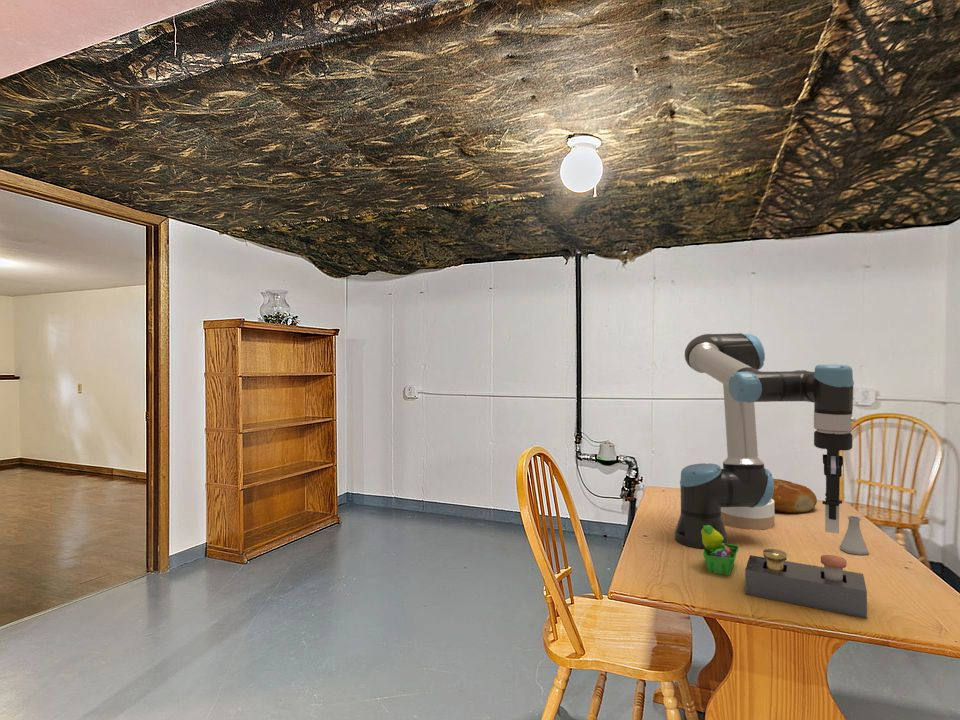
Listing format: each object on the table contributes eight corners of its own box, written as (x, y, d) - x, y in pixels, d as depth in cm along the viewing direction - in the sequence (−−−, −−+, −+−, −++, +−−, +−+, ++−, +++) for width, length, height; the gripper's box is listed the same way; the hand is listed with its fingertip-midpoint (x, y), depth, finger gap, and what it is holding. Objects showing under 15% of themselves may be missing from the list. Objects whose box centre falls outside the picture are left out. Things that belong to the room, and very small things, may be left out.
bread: (815, 520, 190) (815, 491, 190) (741, 510, 203) (741, 483, 203) (817, 504, 209) (817, 478, 209) (749, 496, 222) (749, 472, 222)
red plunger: (820, 593, 126) (820, 560, 126) (820, 585, 131) (820, 553, 131) (846, 598, 124) (846, 564, 124) (845, 590, 128) (845, 557, 128)
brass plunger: (762, 585, 133) (762, 553, 133) (764, 578, 137) (764, 547, 137) (786, 589, 130) (786, 557, 130) (787, 582, 134) (787, 551, 134)
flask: (874, 556, 156) (874, 521, 156) (846, 554, 157) (845, 520, 157) (862, 547, 163) (862, 514, 163) (835, 546, 164) (834, 513, 164)
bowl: (776, 519, 191) (776, 495, 191) (772, 533, 177) (772, 507, 176) (723, 512, 200) (723, 489, 200) (715, 525, 186) (715, 500, 186)
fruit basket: (733, 578, 141) (733, 535, 141) (697, 571, 146) (697, 529, 146) (739, 564, 151) (739, 523, 151) (705, 558, 156) (704, 518, 156)
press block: (745, 594, 132) (745, 569, 132) (750, 578, 141) (750, 555, 141) (866, 618, 120) (866, 591, 119) (863, 599, 129) (863, 573, 129)
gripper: (854, 436, 119) (853, 543, 120) (851, 428, 131) (849, 526, 131) (813, 433, 123) (813, 537, 124) (814, 426, 134) (813, 521, 135)
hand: (832, 531), depth 128 cm, fingers closed
